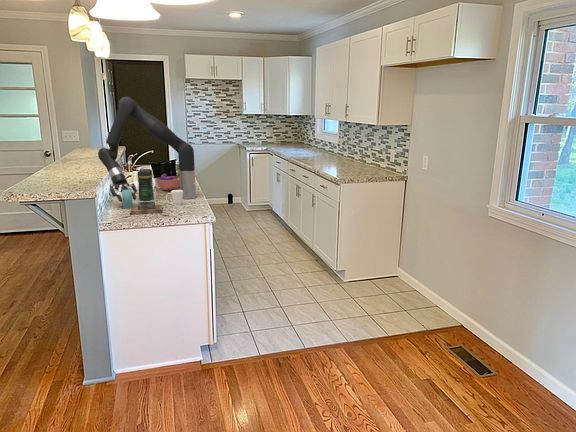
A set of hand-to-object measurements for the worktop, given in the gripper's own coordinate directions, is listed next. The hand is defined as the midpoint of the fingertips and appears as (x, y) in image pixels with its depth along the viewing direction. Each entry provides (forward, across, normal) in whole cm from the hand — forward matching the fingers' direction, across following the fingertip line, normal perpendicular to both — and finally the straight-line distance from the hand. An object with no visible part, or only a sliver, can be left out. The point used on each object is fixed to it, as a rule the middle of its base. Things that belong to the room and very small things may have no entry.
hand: (128, 200), depth 245 cm
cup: (+10, +24, -4) cm, 26 cm away
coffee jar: (-7, +18, +14) cm, 23 cm away
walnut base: (+13, +4, -6) cm, 15 cm away
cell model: (-18, +43, +24) cm, 52 cm away
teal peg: (+2, 0, +4) cm, 5 cm away
